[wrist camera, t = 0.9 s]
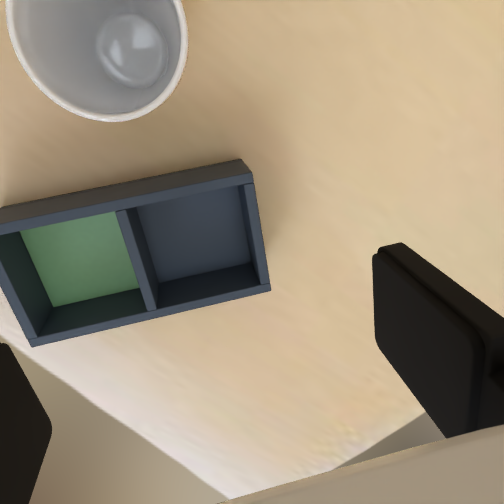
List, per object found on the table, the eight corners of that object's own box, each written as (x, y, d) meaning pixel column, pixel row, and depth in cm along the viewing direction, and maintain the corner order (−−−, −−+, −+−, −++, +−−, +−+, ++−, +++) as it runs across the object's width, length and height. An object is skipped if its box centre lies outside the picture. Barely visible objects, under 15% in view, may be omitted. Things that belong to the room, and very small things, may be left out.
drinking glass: (154, 120, 31) (138, 156, 17) (68, 65, 28) (-29, 56, 15) (200, 39, 29) (223, 8, 15) (113, -27, 26) (50, -133, 13)
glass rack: (0, 206, 31) (-29, 229, 26) (241, 158, 33) (252, 171, 28) (49, 312, 35) (31, 347, 31) (259, 264, 37) (271, 291, 33)
